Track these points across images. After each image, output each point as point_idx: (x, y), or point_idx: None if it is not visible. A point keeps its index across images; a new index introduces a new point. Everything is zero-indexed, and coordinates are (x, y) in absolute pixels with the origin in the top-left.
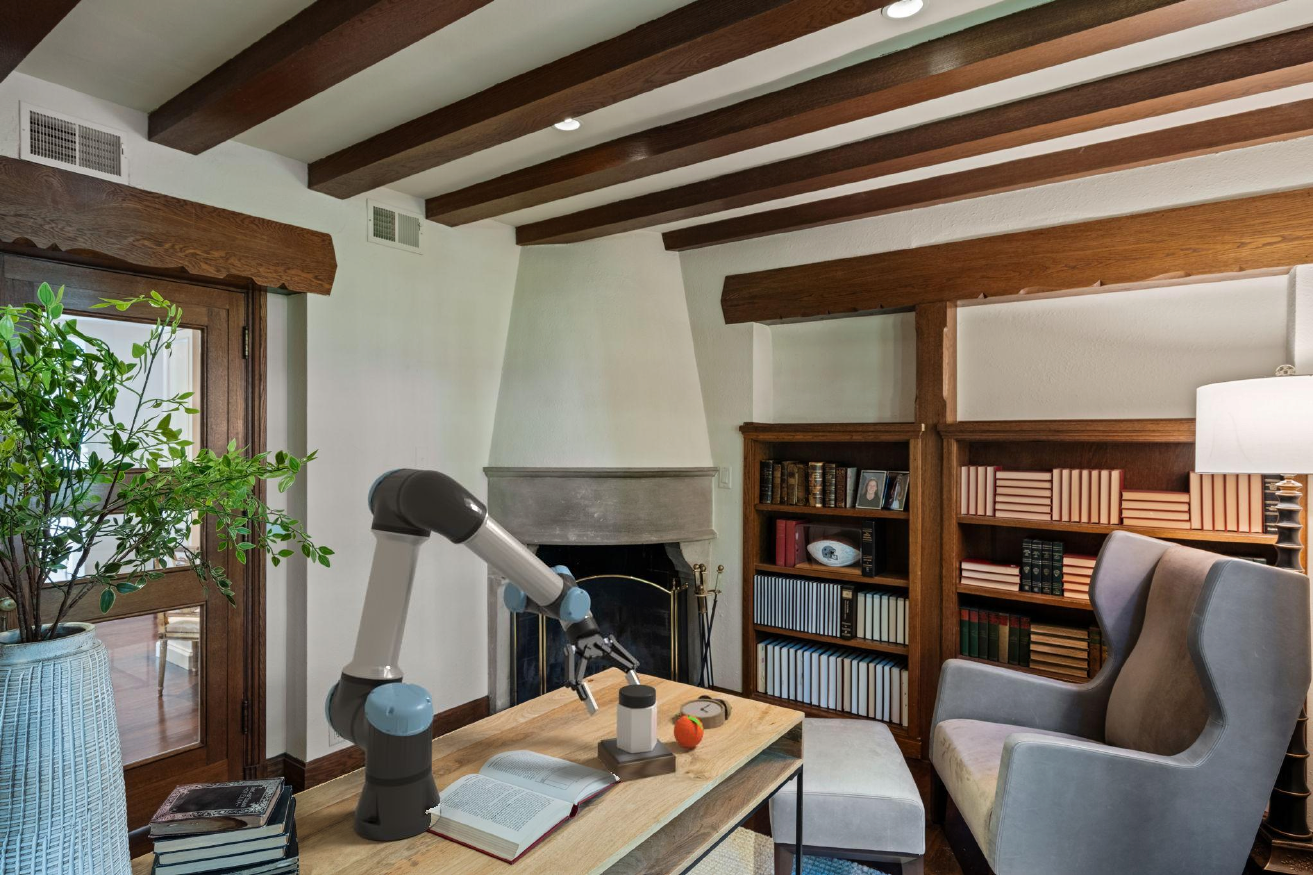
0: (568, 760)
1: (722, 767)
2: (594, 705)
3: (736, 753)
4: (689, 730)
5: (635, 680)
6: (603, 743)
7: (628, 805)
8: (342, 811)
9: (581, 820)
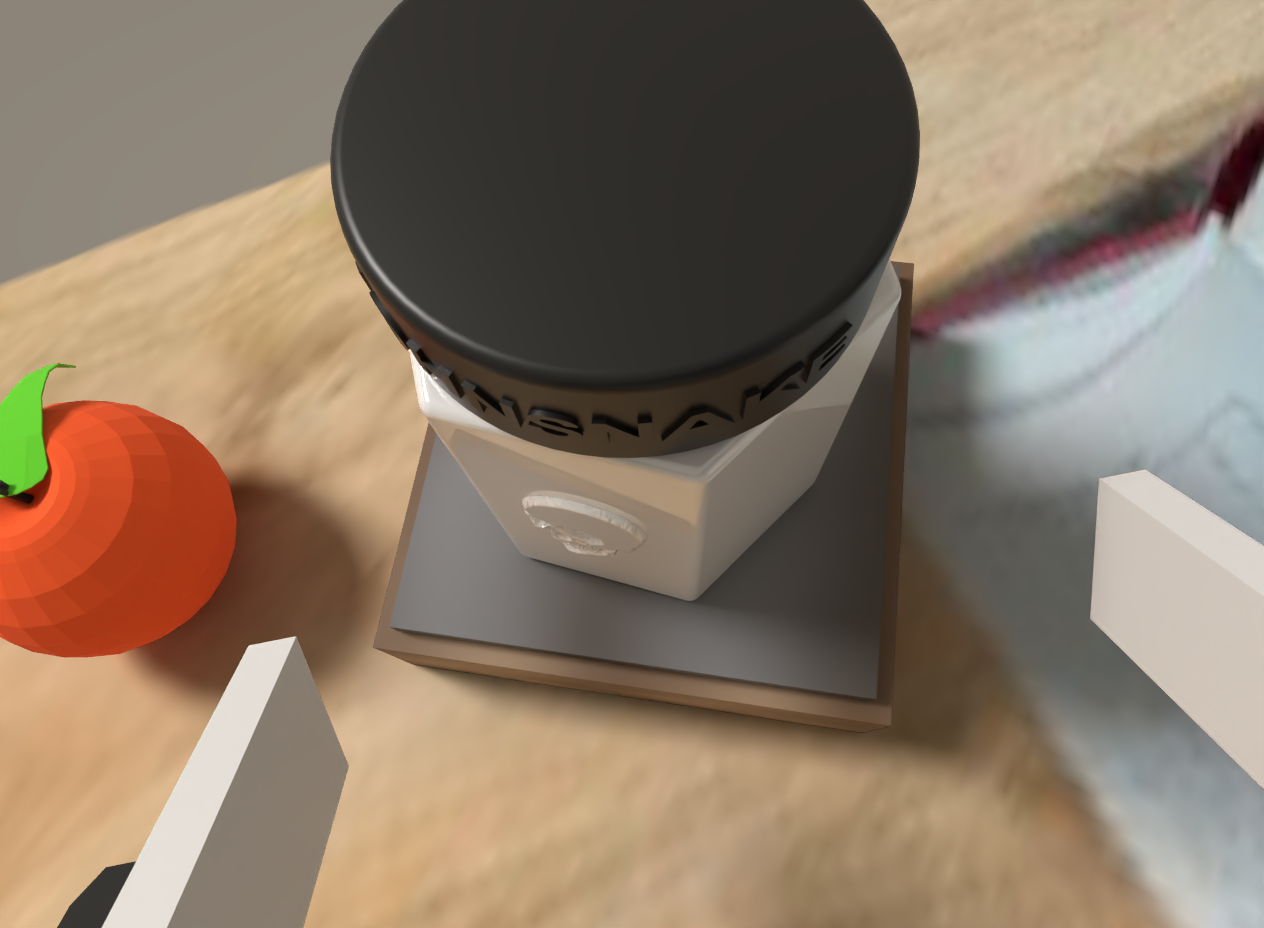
0: (1100, 814)
1: (232, 210)
2: (1175, 497)
3: (14, 316)
4: (145, 414)
5: (204, 834)
6: (879, 621)
7: (940, 94)
8: None
9: (1228, 74)
